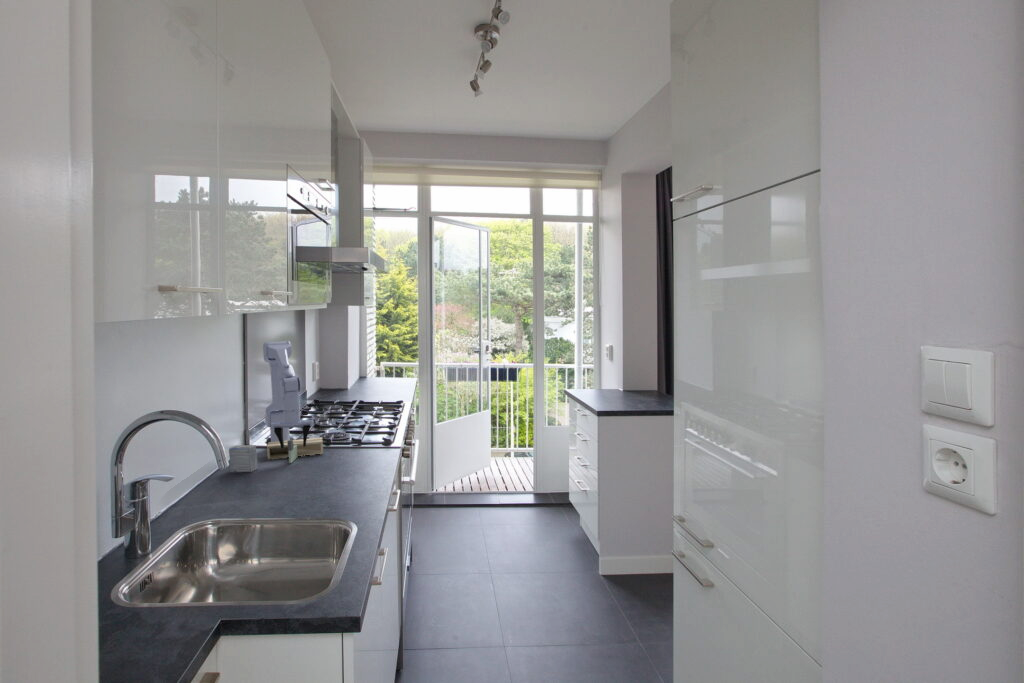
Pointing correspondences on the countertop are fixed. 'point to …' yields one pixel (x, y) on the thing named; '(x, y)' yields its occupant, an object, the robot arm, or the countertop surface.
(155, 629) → the countertop surface
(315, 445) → the tan rectangular box
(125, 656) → the countertop surface
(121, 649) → the countertop surface
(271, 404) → the robot arm
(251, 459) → the medicine box
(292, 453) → the side door
